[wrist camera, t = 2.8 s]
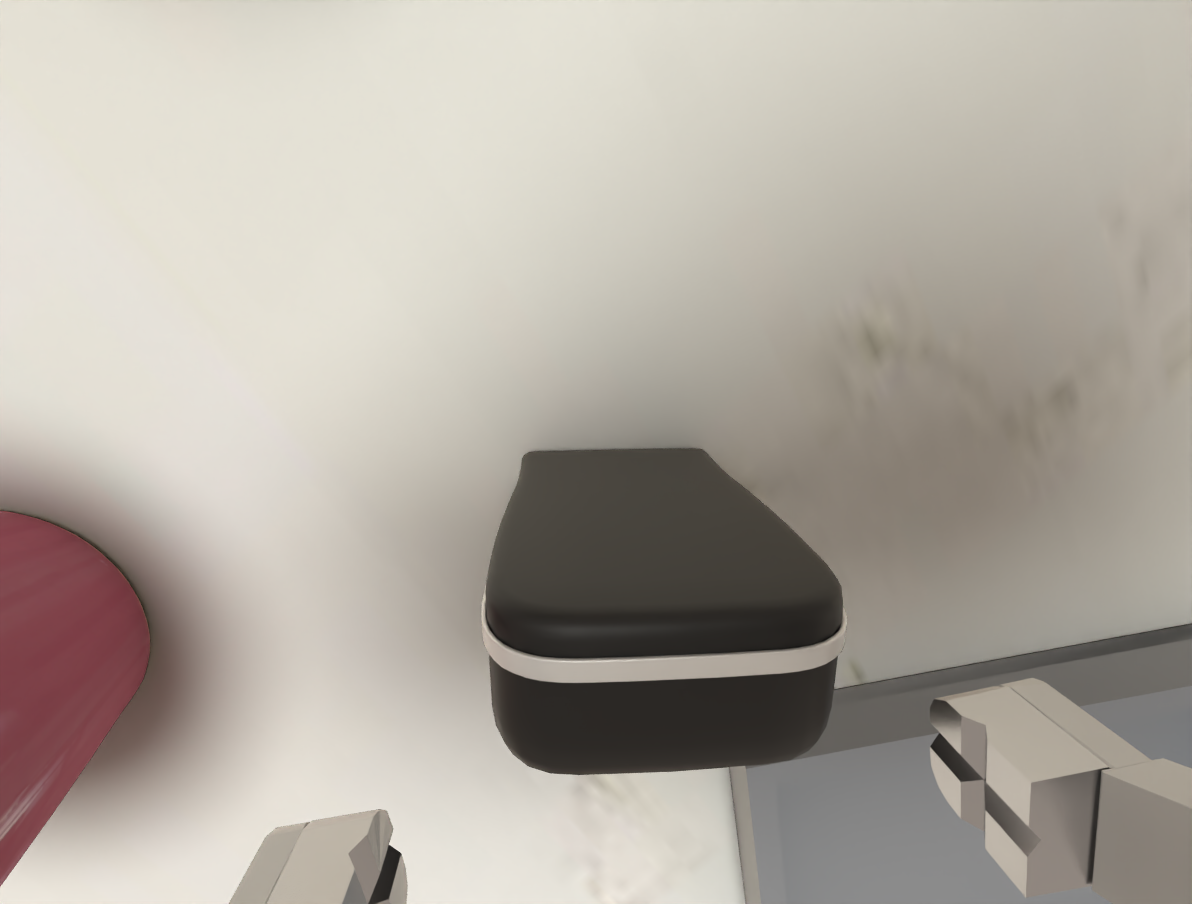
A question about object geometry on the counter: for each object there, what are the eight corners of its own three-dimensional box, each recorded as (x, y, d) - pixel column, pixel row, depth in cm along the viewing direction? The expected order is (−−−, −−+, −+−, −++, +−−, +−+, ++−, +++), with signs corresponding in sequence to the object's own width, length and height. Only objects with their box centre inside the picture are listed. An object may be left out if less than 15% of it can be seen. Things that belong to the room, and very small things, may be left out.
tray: (1233, 616, 23) (1329, 659, 20) (1185, 929, 28) (1258, 1001, 25) (722, 710, 23) (746, 768, 20) (759, 1013, 27) (782, 1096, 24)
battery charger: (520, 548, 20) (473, 828, 9) (515, 448, 19) (458, 627, 8) (705, 542, 21) (870, 803, 10) (710, 444, 20) (898, 610, 9)
